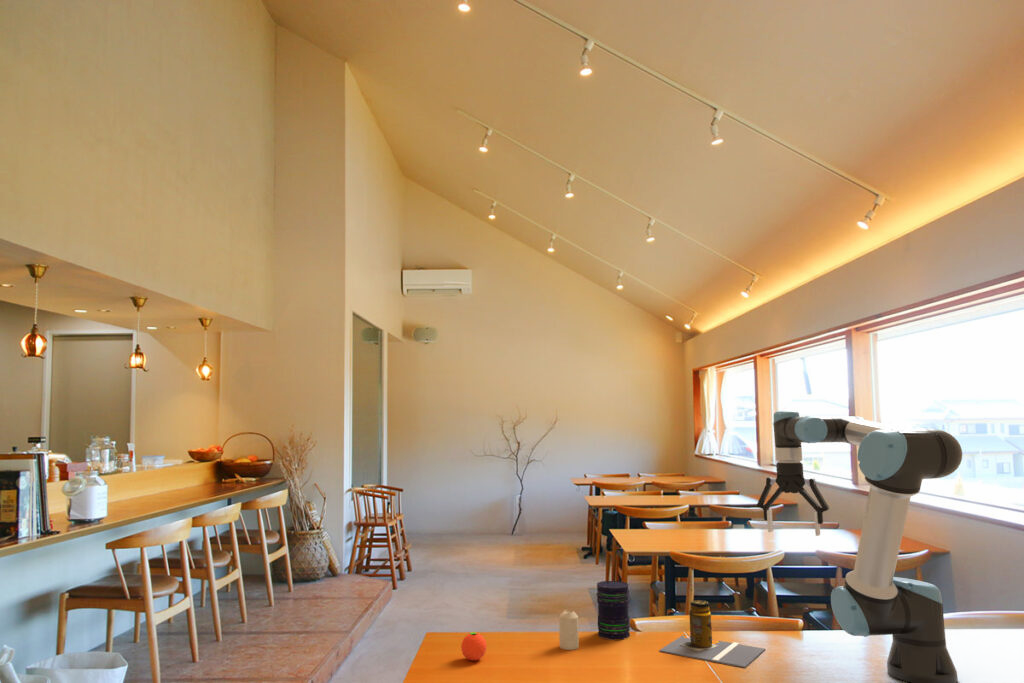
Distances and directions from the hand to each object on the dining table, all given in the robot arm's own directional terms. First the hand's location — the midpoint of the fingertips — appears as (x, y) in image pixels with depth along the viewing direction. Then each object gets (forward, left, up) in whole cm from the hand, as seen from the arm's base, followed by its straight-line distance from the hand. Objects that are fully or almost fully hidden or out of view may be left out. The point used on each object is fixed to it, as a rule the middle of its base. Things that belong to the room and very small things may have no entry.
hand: (793, 533), depth 203 cm
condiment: (+22, +23, -30) cm, 44 cm away
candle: (+53, +44, -31) cm, 75 cm away
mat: (+18, +24, -31) cm, 43 cm away
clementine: (+69, +68, -31) cm, 102 cm away
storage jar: (+48, +26, -31) cm, 63 cm away
